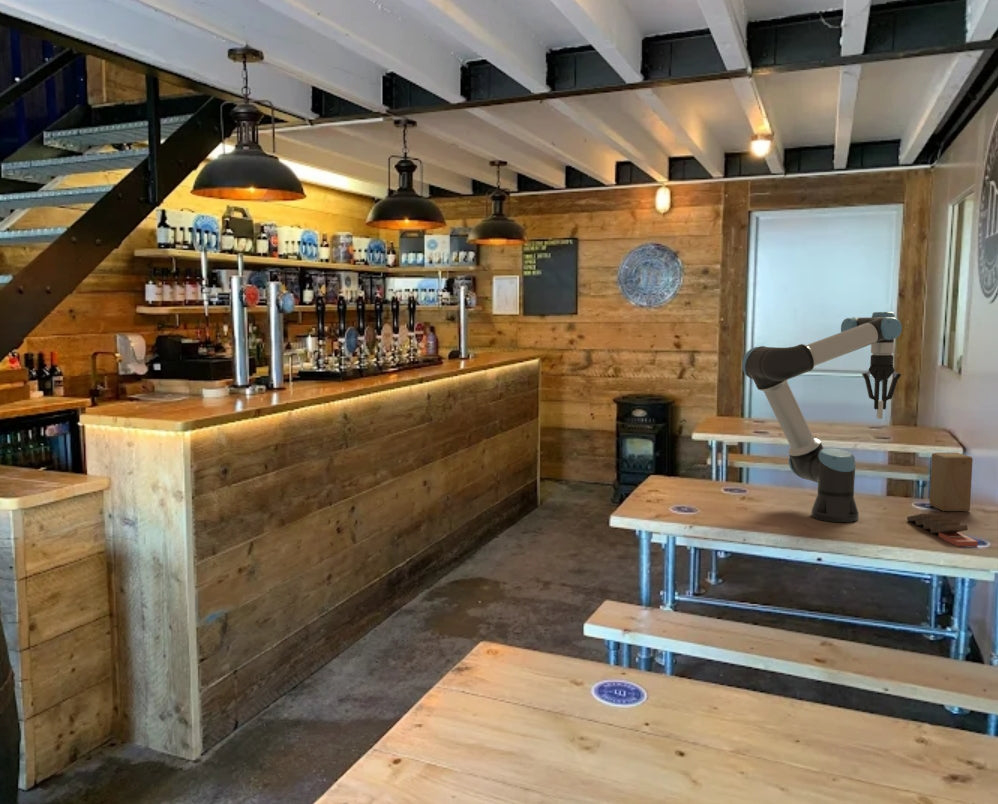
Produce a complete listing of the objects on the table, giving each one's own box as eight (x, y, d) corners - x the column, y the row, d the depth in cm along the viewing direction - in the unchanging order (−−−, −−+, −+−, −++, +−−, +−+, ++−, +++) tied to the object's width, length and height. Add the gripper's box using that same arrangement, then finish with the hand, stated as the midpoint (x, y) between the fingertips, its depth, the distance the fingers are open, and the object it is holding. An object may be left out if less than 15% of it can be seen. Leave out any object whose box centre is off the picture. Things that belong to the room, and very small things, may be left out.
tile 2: (915, 520, 263) (931, 517, 253) (933, 520, 263) (950, 517, 253) (915, 525, 263) (932, 522, 252) (934, 525, 263) (951, 522, 252)
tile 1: (907, 516, 269) (922, 513, 258) (924, 516, 268) (941, 513, 258) (907, 521, 268) (923, 518, 258) (925, 521, 268) (942, 518, 257)
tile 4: (930, 528, 254) (947, 524, 243) (949, 528, 254) (967, 524, 243) (930, 533, 253) (947, 530, 243) (949, 533, 253) (967, 530, 242)
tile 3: (922, 524, 259) (939, 521, 248) (941, 524, 258) (958, 520, 248) (923, 529, 258) (940, 526, 248) (942, 529, 258) (959, 526, 247)
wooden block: (971, 512, 280) (974, 456, 278) (942, 512, 280) (945, 457, 278) (955, 505, 290) (958, 452, 288) (928, 505, 290) (930, 452, 288)
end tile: (938, 532, 249) (957, 541, 238) (958, 532, 249) (977, 541, 238) (938, 537, 249) (957, 546, 238) (957, 537, 249) (977, 546, 238)
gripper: (899, 353, 289) (896, 417, 292) (860, 353, 293) (858, 416, 295) (904, 354, 282) (901, 419, 285) (864, 354, 285) (862, 419, 288)
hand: (879, 418), depth 290 cm, fingers closed
